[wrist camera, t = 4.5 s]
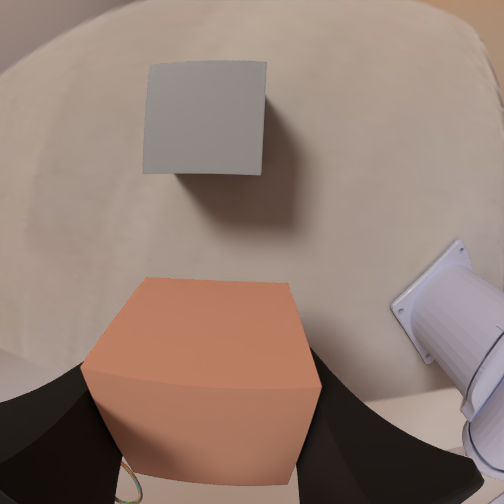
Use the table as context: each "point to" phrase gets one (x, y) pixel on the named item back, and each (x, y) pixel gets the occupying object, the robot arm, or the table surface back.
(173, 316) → the terracotta block
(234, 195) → the table surface
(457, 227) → the table surface
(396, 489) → the robot arm
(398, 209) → the table surface
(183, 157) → the slate block
